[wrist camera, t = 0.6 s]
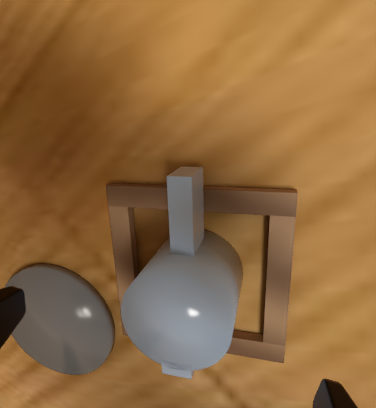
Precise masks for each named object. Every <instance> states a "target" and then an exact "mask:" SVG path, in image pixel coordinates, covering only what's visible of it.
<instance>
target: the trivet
mask: <svg viewBox="0 0 376 408" xmlns="http://www.w3.org/2000/svg"><path fill="white" fill-rule="evenodd" d="M9 286H14V287H17V288H21V289H23V291H24V293H25V304H26V312H25V315H24V317H23V318H22V320H21V321H20V323H19V324H18V325H17V327H16V328H15V329H14V331H13V332H12V336H13V337H14V339H15V340H16V342H17V343H18V344H19V345H20V347H21V348H22V349H23V350H24V351H25V352H26V353H27V354H28V355H30V356H31V357H32V358H33V359H34V360H36V361H37V362H39V363H40V364H42V365H43V366H45V367H47V368H49V369H52V370H54V371H57V372H60V373H64V374H70V375H81V374H86V373H90V372H92V371H94V370H96V369H97V368H99V367H100V366H101V365H102V364H103V363H104V361H105V360H106V358H107V357H108V355H109V354H110V352H111V350H112V348H113V345H114V342H115V326H114V321H113V318H112V315H111V312H110V310H109V308H108V306H107V304H106V303H105V301H104V299H103V298H102V297H101V295H100V294H99V293H98V291H97V290H96V289H95V288H94V287H93V286H92V285H91V284H90V283H88V282H87V281H86V280H85V279H84V278H82V277H81V276H79V275H78V274H76V273H74V272H73V271H71V270H68V269H66V268H64V267H60V266H57V265H52V264H35V265H32V266H29V267H27V268H24V269H23V270H21V271H20V272H18V273H17V274H15V275H14V276H13V277H12V278H11V279H10V280H9V281H8V282H7V284H6V286H5V287H9Z"/></svg>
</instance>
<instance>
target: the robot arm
mask: <svg viewBox="0 0 376 408" xmlns="http://www.w3.org/2000/svg"><path fill="white" fill-rule="evenodd" d="M25 312H26V304H25V293H24V291H23V289H21V288H17V287H14V286H9V287H5V288H3V289H0V349H1V347H2V346H3V344H4V343H5V342H6V340H7V339H8V338H9V336H10V335H11V334H12V332H13V331H14V329H15V328H16V327H17V325H18V324H19V323H20V321H21V320H22V318H23V317H24V315H25ZM313 408H358V407H357V406H356V404H355V403H354V402H353V400H352V399H351V397H350V396H349V394H348V393H347V392H346V390H345V389H344V387H343V386H342V385H341V384H340V383H339V382H336V381H332V380H329V379H323V380H322V381H321V383H320V386H319V388H318V390H317V393H316V395H315V397H314V401H313Z"/></svg>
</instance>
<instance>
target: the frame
mask: <svg viewBox="0 0 376 408" xmlns="http://www.w3.org/2000/svg"><path fill="white" fill-rule="evenodd" d="M106 190H107V199H108V207H109V216H110V225H111V234H112V242H113V251H114V260H115V268H116V277H117V286H118V295H119V303H120V312H121V303H122V299H123V296H124V294H125V292H126V290H127V289H128V287H129V286H130V285H131V283H132V282H133V281H134V280H135V278H136V277H137V276H138V275H139V270H138V259H137V248H136V237H135V226H134V215H133V208H150V209H167V210H168V195H167V185H156V184H129V183H110V184H108V185H106ZM297 194H298V193H297V190H294V189H266V188H239V187H211V186H203V196H204V212H218V213H236V214H253V215H270V222H269V241H268V260H267V278H266V297H265V315H264V334H263V335H262V334H255V333H249V332H243V331H236V330H233V335H232V340H231V344H230V347H229V349H228V351H227V352H226V353H229V354H234V355H240V356H246V357H251V358H257V359H263V360H268V361H274V362H280V363H284V354H285V342H286V330H287V317H288V305H289V293H290V280H291V268H292V256H293V243H294V231H295V219H296V206H297ZM121 321H122V317H121ZM122 329H123V335H127V336H128V334H127V332H126V330H125V328H124V325H123V322H122Z"/></svg>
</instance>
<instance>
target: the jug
mask: <svg viewBox="0 0 376 408" xmlns="http://www.w3.org/2000/svg"><path fill="white" fill-rule="evenodd" d="M167 195H168V214H169V233H170V237H169V238H168V239H167V240H166V241H165V242H164V244H163V245H162V246H161V247H160V249H159V250H158V251H157V252H156V254H155V255H154V256H153V257H152V258H151V260H150V261H149V262H148V263H147V265H146V266H145V267H144V268H143V270H142V271H141V272H140V273H139V275H138V276H137V277H136V278H135V280H134V281H133V282H132V283H131V285H130V286H129V287H128V289H127V290H126V292H125V294H124V296H123V299H122V303H121V317H122V322H123V325H124V328H125V330H126V332H127V334H128V336H129V338H130V339H131V340H132V342H133V343H134V344H135V346H136V347H137V348H138V349H139V350H140V351H141V352H142V353H144V354H145V355H146V356H148V357H149V358H150V359H152V360H154V361H155V362H157V363H159V364H161V365H162V373H164V374H169V375H174V376H178V377H183V378H188V379H192V377H193V373H194V370H200V369H204V368H207V367H210V366H212V365H214V364H215V363H217V362H218V361H219V360H221V358H222V357H223V356H224V355H225V354H226V352H227V351H228V349H229V347H230V344H231V340H232V335H233V330H234V324H235V319H236V313H237V308H238V302H239V297H240V291H241V285H242V280H243V267H242V263H241V260H240V257H239V255H238V253H237V252H236V250H235V249H234V248H233V247H232V245H231V244H230V243H229V242H227V241H226V240H225V239H224V238H222V237H221V236H219V235H217V234H215V233H213V232H210V231H207V230H204V196H203V167H180V168H178V169H177V170H175V171H174V172H172V173H171V174H169V175H168V176H167Z"/></svg>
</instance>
